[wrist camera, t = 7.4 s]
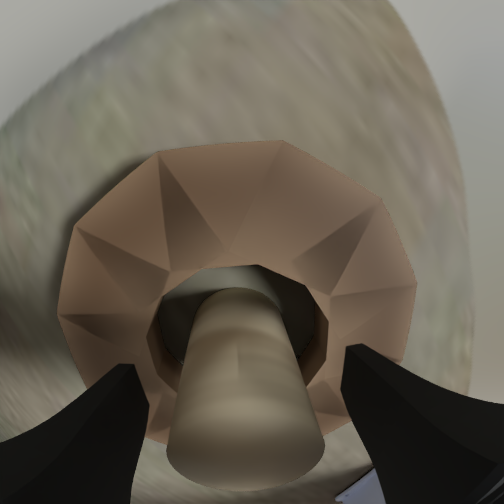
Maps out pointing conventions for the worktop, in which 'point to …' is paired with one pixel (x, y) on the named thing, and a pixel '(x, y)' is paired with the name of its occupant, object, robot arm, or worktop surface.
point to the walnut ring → (234, 263)
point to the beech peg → (242, 399)
